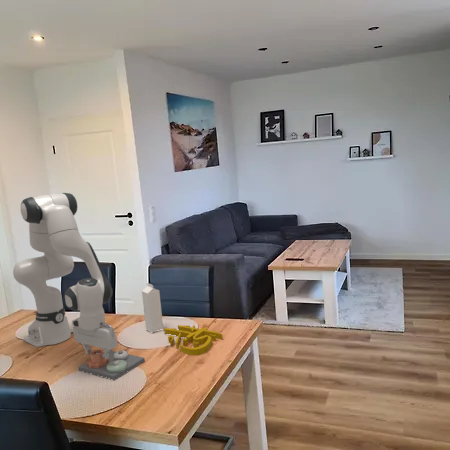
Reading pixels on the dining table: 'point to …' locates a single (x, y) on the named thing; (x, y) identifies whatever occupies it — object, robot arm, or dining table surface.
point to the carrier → (115, 365)
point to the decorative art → (193, 338)
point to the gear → (97, 359)
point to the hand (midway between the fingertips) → (97, 356)
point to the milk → (152, 308)
